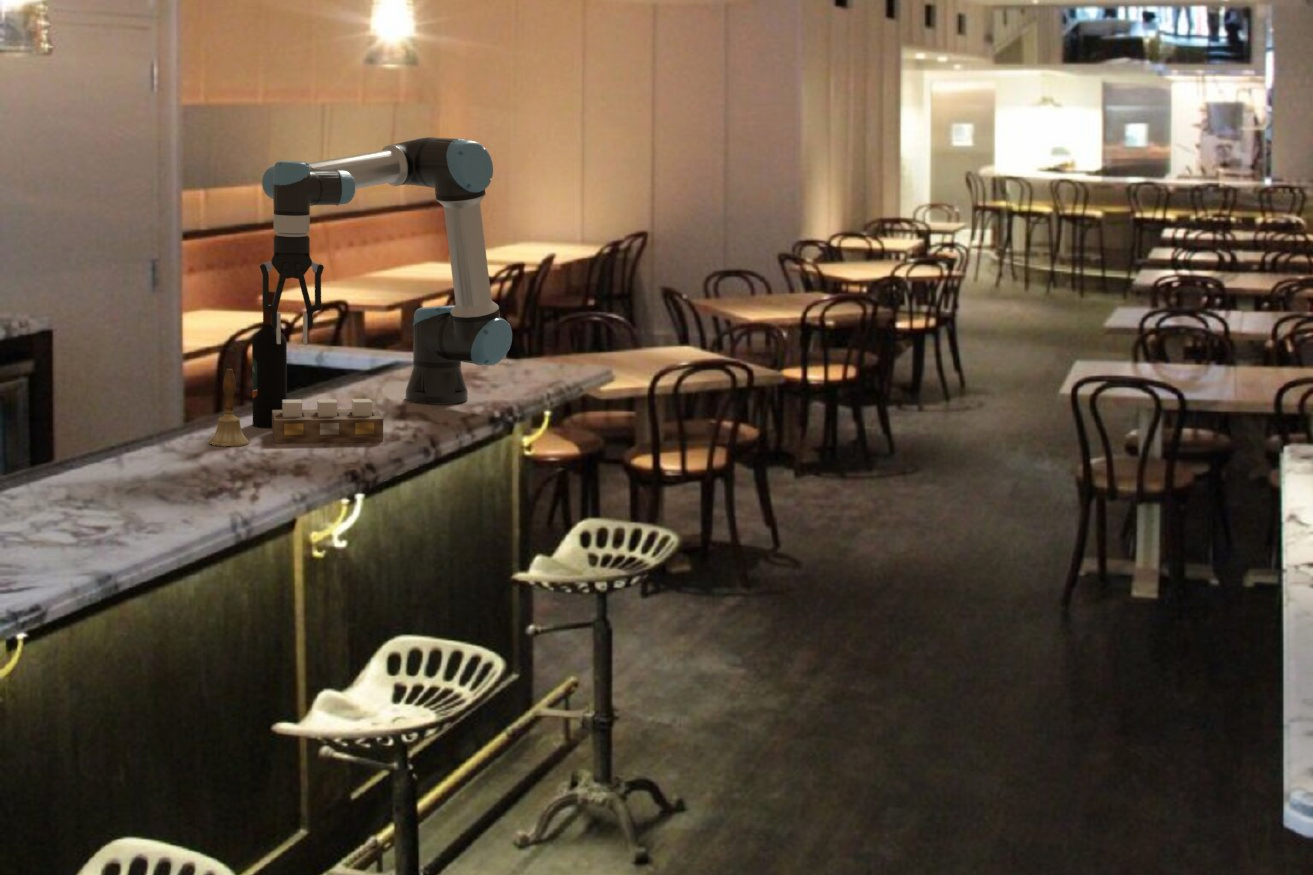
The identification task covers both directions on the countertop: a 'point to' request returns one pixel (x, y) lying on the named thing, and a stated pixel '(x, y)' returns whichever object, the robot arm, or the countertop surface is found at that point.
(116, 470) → the countertop surface
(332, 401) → the middle button
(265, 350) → the wine bottle
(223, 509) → the countertop surface
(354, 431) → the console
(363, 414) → the inner button
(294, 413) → the outer button
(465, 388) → the robot arm
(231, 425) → the hand bell
